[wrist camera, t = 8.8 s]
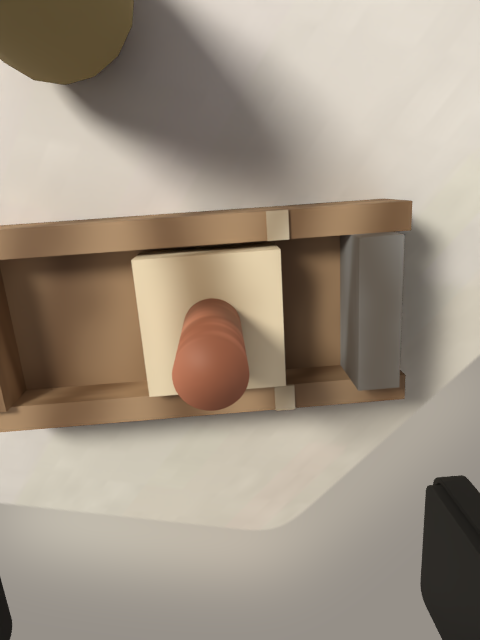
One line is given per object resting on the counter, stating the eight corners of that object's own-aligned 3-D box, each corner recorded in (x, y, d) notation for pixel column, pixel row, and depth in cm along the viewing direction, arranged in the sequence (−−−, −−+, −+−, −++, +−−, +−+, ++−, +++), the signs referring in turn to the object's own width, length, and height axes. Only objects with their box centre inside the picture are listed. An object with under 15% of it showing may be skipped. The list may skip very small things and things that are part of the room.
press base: (384, 198, 29) (424, 201, 24) (380, 371, 33) (415, 410, 27) (-26, 227, 29) (-87, 237, 23) (13, 401, 32) (-31, 448, 26)
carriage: (273, 242, 28) (304, 272, 18) (278, 365, 30) (309, 452, 20) (140, 251, 27) (98, 288, 18) (156, 375, 30) (126, 467, 20)
